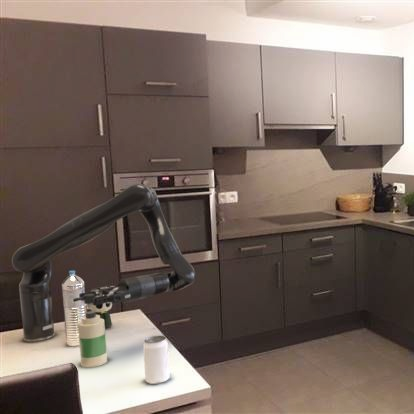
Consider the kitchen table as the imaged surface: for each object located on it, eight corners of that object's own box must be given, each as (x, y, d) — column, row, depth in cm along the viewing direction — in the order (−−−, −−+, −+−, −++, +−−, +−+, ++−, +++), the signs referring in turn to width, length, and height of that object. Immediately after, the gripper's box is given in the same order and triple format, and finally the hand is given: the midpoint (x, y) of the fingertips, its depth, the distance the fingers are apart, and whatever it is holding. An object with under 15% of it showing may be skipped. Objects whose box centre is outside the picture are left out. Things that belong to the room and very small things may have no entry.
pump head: (92, 305, 168) (91, 292, 168) (97, 307, 166) (96, 294, 166) (71, 310, 163) (70, 297, 163) (76, 312, 161) (75, 299, 161)
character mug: (90, 333, 195) (87, 298, 193) (83, 328, 200) (80, 294, 198) (121, 326, 202) (119, 292, 201) (114, 321, 207) (112, 288, 206)
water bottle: (79, 347, 181) (73, 273, 178) (61, 346, 183) (55, 273, 180) (93, 340, 188) (88, 269, 185) (76, 339, 189) (70, 268, 186)
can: (149, 375, 158) (147, 335, 157) (172, 374, 159) (170, 334, 157) (142, 385, 152) (139, 343, 150) (166, 383, 152) (163, 342, 151)
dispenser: (100, 356, 173) (96, 307, 171) (111, 361, 169) (108, 311, 167) (76, 363, 168) (72, 313, 166) (87, 369, 163) (83, 317, 161)
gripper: (125, 273, 182) (74, 284, 169) (148, 280, 173) (96, 291, 160) (126, 295, 182) (76, 307, 170) (149, 302, 174) (98, 316, 161)
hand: (86, 299), depth 165 cm, fingers open, 8 cm apart
